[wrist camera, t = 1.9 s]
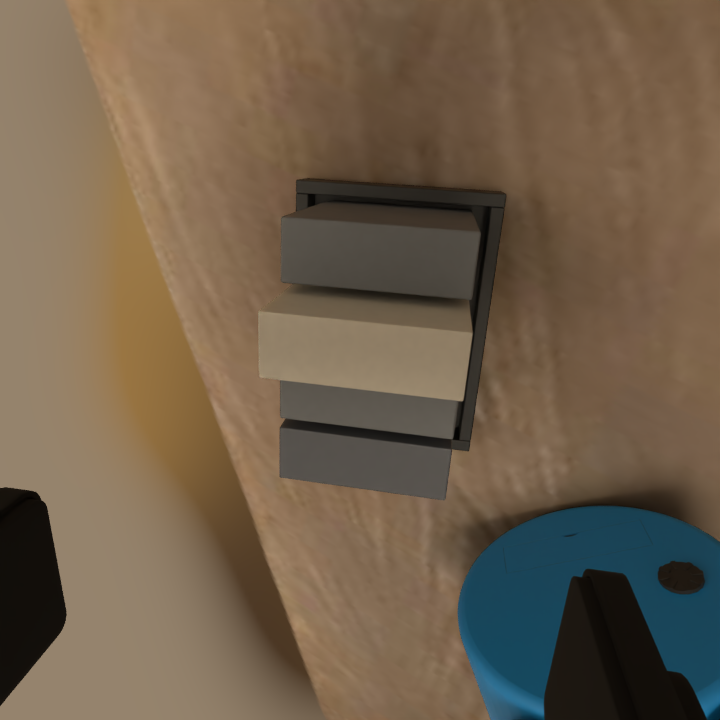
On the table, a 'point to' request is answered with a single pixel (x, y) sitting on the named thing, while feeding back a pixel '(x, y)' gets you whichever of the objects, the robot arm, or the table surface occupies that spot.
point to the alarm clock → (549, 592)
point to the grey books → (363, 407)
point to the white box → (367, 341)
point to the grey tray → (490, 224)
